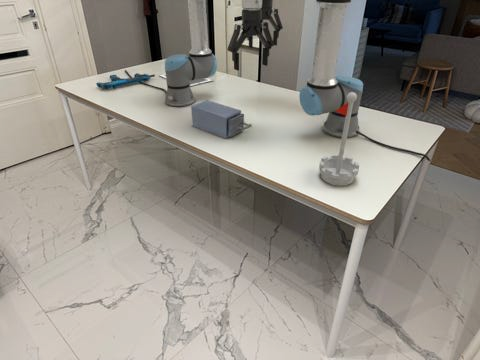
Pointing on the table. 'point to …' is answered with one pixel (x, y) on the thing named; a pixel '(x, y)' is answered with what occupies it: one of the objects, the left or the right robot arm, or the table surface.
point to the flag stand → (341, 154)
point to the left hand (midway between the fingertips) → (250, 67)
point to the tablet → (193, 82)
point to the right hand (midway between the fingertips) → (262, 46)
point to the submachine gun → (124, 81)
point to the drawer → (236, 125)
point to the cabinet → (212, 117)
